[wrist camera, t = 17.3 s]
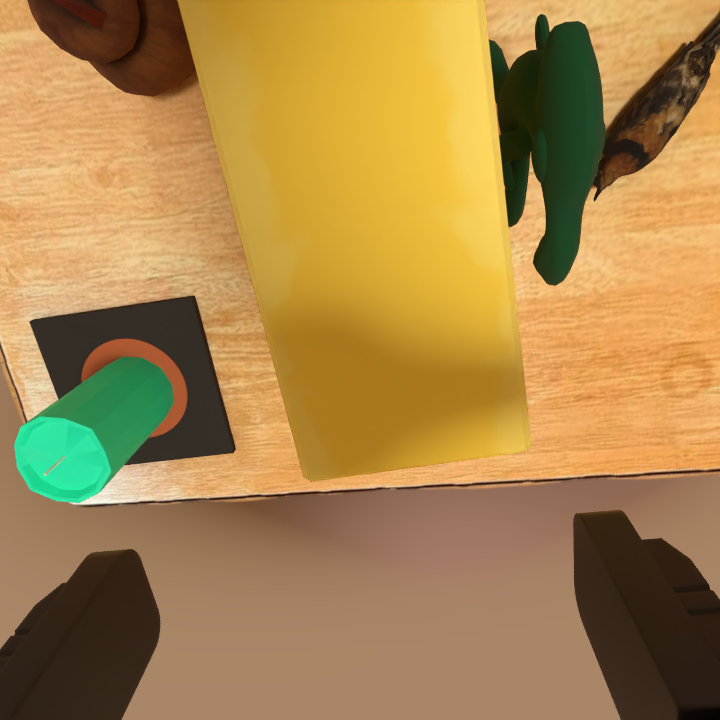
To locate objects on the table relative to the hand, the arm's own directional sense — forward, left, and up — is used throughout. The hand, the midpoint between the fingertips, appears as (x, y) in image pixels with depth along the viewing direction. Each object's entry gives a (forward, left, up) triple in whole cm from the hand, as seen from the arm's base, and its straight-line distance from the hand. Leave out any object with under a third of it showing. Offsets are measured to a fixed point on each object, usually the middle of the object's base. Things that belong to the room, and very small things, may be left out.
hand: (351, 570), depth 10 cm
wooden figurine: (-16, -12, -31) cm, 37 cm away
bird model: (-7, +18, -31) cm, 37 cm away
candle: (+7, -21, -31) cm, 38 cm away
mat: (+7, -21, -31) cm, 38 cm away
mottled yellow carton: (-6, +3, -31) cm, 32 cm away
